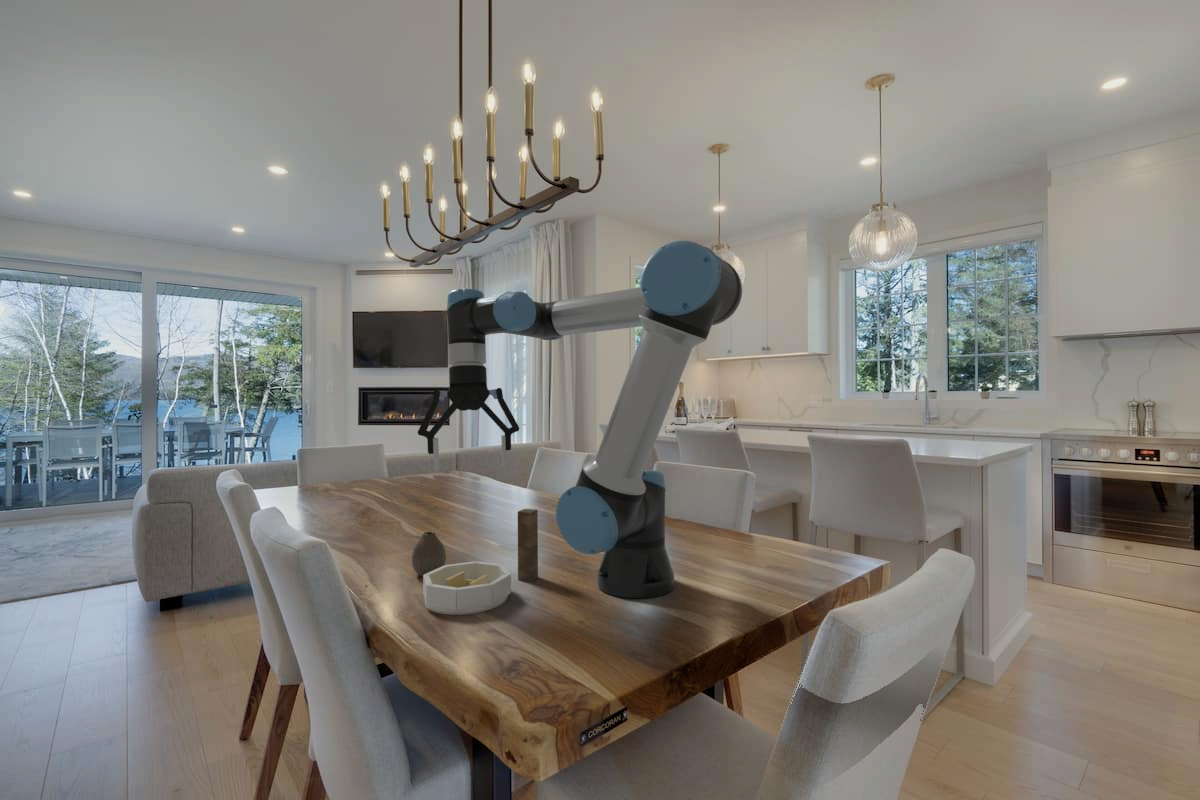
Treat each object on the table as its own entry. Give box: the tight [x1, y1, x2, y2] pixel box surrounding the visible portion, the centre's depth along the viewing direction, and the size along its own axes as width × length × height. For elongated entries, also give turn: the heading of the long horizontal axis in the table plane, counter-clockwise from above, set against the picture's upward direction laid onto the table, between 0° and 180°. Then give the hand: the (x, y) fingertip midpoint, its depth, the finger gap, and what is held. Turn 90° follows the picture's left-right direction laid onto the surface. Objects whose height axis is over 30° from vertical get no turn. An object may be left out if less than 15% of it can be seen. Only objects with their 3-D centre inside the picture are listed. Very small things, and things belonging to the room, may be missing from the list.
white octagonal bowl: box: [422, 561, 512, 616], centre depth 100 cm, size 15×15×4 cm
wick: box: [517, 508, 539, 582], centre depth 111 cm, size 3×3×14 cm
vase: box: [411, 531, 447, 578], centre depth 114 cm, size 7×7×9 cm
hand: (470, 468), depth 111 cm, fingers open, 13 cm apart
